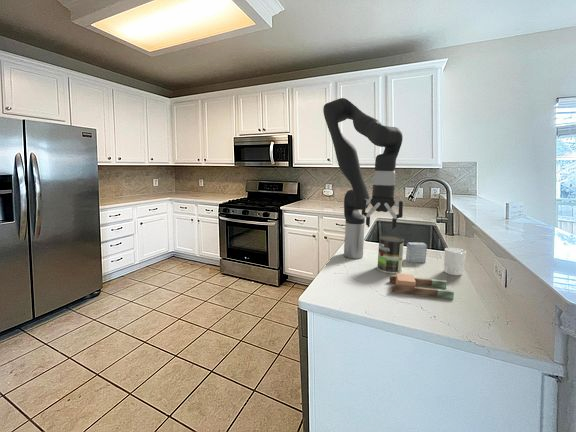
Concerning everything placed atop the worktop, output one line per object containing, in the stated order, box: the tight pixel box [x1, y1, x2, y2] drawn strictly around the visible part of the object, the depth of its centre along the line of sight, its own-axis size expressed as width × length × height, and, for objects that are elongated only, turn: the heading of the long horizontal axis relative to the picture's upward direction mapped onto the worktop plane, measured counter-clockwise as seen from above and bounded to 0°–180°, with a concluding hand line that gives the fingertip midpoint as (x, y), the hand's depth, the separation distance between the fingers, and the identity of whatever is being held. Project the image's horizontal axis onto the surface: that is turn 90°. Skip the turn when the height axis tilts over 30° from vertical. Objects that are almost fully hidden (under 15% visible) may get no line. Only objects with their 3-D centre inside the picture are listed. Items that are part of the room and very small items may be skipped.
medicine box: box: [405, 241, 428, 263], centre depth 136 cm, size 8×4×9 cm, turn 84°
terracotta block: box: [394, 273, 417, 287], centre depth 107 cm, size 6×7×4 cm
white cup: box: [443, 247, 467, 276], centre depth 122 cm, size 8×8×10 cm
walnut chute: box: [389, 275, 455, 300], centre depth 106 cm, size 20×10×2 cm, turn 75°
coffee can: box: [376, 235, 405, 275], centre depth 125 cm, size 10×10×14 cm
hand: (380, 227), depth 106 cm, fingers open, 8 cm apart
